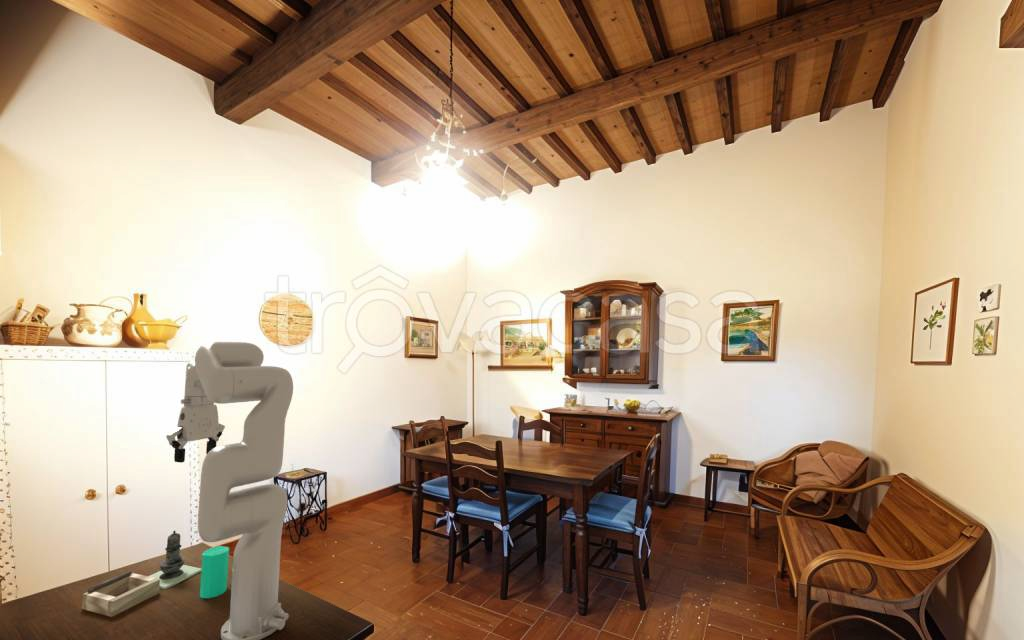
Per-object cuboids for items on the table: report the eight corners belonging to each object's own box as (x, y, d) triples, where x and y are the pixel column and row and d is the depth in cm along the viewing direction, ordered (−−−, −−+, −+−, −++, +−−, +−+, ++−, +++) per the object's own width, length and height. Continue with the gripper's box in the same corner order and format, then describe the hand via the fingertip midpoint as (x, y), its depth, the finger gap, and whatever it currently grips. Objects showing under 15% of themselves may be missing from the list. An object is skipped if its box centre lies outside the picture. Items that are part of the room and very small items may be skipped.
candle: (212, 599, 109) (215, 551, 110) (193, 596, 110) (196, 548, 111) (232, 587, 115) (235, 541, 116) (213, 584, 116) (216, 538, 117)
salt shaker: (163, 571, 122) (166, 527, 122) (188, 568, 123) (191, 525, 124) (153, 581, 116) (156, 536, 117) (179, 578, 118) (182, 533, 119)
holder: (158, 593, 112) (160, 575, 112) (111, 616, 102) (113, 597, 102) (130, 586, 115) (131, 568, 115) (81, 608, 105) (83, 589, 105)
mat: (202, 570, 123) (202, 568, 123) (165, 589, 114) (165, 587, 114) (176, 565, 126) (176, 563, 126) (138, 583, 116) (138, 580, 116)
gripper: (179, 405, 122) (175, 466, 121) (234, 398, 139) (230, 452, 138) (160, 404, 125) (156, 464, 123) (216, 397, 141) (213, 450, 140)
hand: (195, 458), depth 131 cm, fingers open, 9 cm apart
